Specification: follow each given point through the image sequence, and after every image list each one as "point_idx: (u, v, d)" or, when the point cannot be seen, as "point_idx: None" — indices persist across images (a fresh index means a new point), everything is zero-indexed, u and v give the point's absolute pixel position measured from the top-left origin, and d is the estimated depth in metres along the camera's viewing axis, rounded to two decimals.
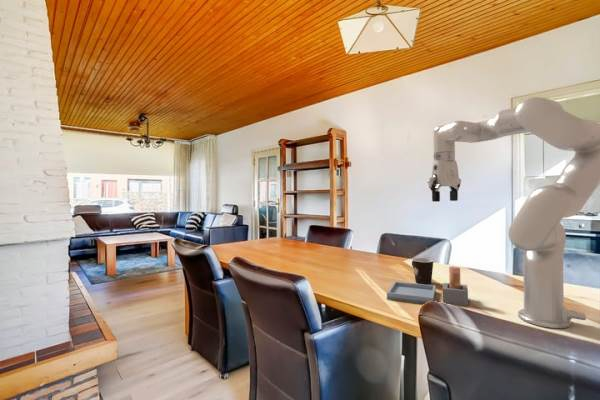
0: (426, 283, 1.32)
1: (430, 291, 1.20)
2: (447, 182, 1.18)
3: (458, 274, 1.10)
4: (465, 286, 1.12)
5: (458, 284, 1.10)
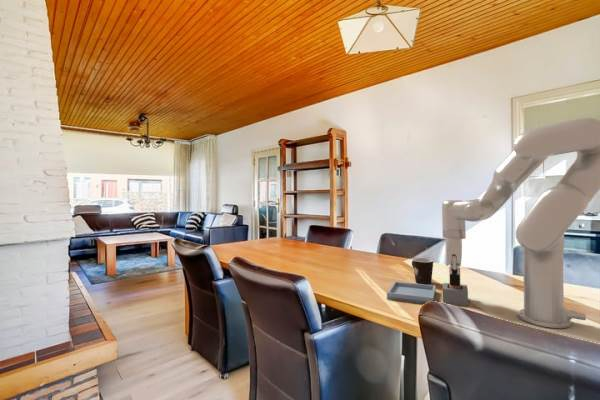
0: (426, 283, 1.32)
1: (430, 291, 1.20)
2: None
3: None
4: (465, 286, 1.12)
5: None
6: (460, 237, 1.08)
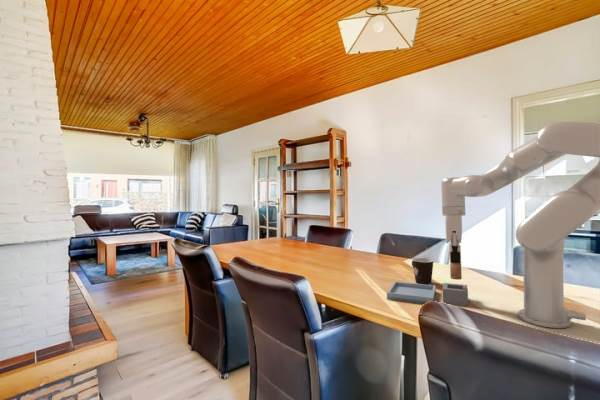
0: (426, 283, 1.32)
1: (430, 291, 1.20)
2: None
3: None
4: (465, 286, 1.12)
5: None
6: (460, 214, 1.08)
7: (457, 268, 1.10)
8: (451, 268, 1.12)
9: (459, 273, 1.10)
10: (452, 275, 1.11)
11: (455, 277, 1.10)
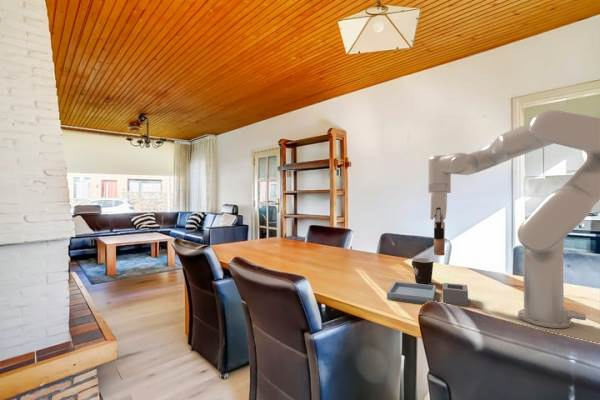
0: (426, 283, 1.32)
1: (430, 291, 1.20)
2: None
3: None
4: (465, 286, 1.12)
5: None
6: (445, 191, 1.10)
7: (440, 244, 1.13)
8: (434, 244, 1.14)
9: (442, 249, 1.13)
10: (435, 251, 1.14)
11: (438, 253, 1.13)
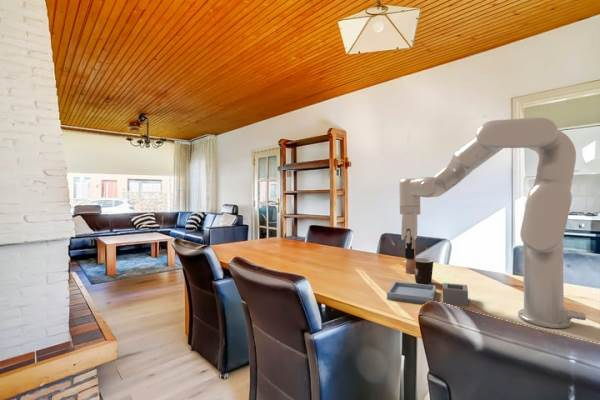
0: (426, 283, 1.32)
1: (430, 291, 1.20)
2: None
3: (413, 248, 1.17)
4: (465, 286, 1.12)
5: None
6: (414, 213, 1.15)
7: (411, 263, 1.17)
8: (406, 263, 1.19)
9: (413, 268, 1.17)
10: (407, 270, 1.18)
11: (409, 272, 1.18)
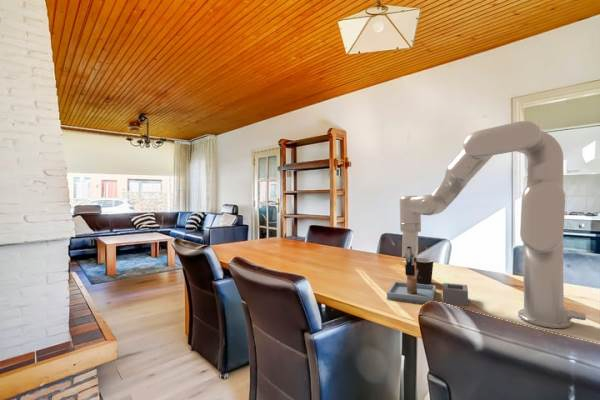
0: (426, 283, 1.32)
1: (430, 291, 1.20)
2: None
3: None
4: (465, 286, 1.12)
5: (414, 277, 1.17)
6: (415, 230, 1.15)
7: (412, 283, 1.17)
8: (407, 283, 1.19)
9: (414, 288, 1.17)
10: (408, 290, 1.18)
11: (411, 292, 1.18)
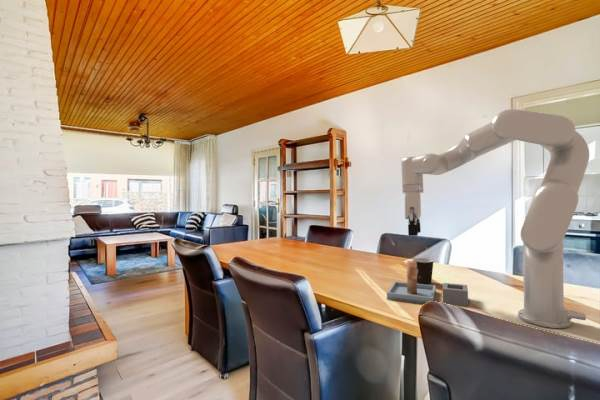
0: (426, 283, 1.32)
1: (430, 291, 1.20)
2: None
3: (414, 268, 1.17)
4: (465, 286, 1.12)
5: (414, 277, 1.17)
6: (417, 191, 1.14)
7: (412, 283, 1.17)
8: (407, 283, 1.19)
9: (414, 288, 1.17)
10: (408, 290, 1.18)
11: (411, 292, 1.18)
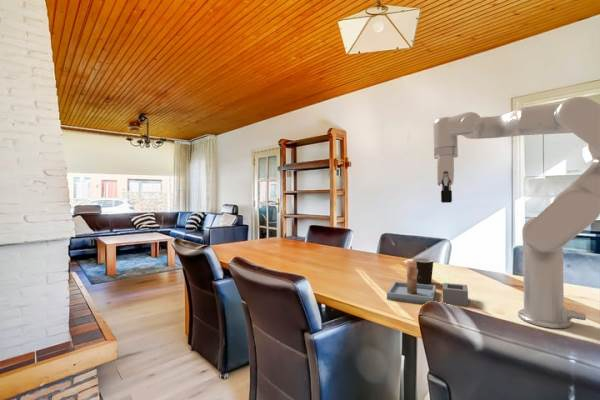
0: (426, 283, 1.32)
1: (430, 291, 1.20)
2: None
3: (414, 268, 1.17)
4: (465, 286, 1.12)
5: (414, 277, 1.17)
6: (452, 154, 1.04)
7: (412, 283, 1.17)
8: (407, 283, 1.19)
9: (414, 288, 1.17)
10: (408, 290, 1.18)
11: (411, 292, 1.18)
